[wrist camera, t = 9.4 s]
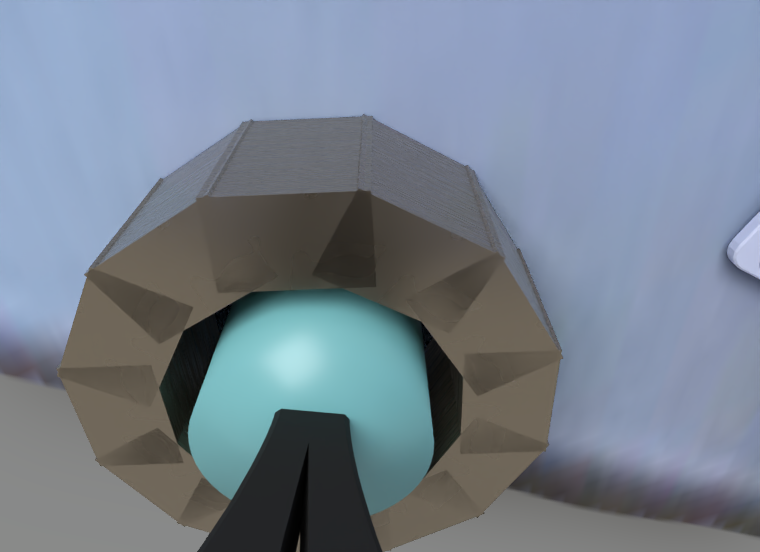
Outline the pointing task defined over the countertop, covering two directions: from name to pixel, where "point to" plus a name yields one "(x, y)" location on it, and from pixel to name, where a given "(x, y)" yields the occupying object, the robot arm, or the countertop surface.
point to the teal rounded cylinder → (317, 386)
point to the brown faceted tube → (304, 272)
